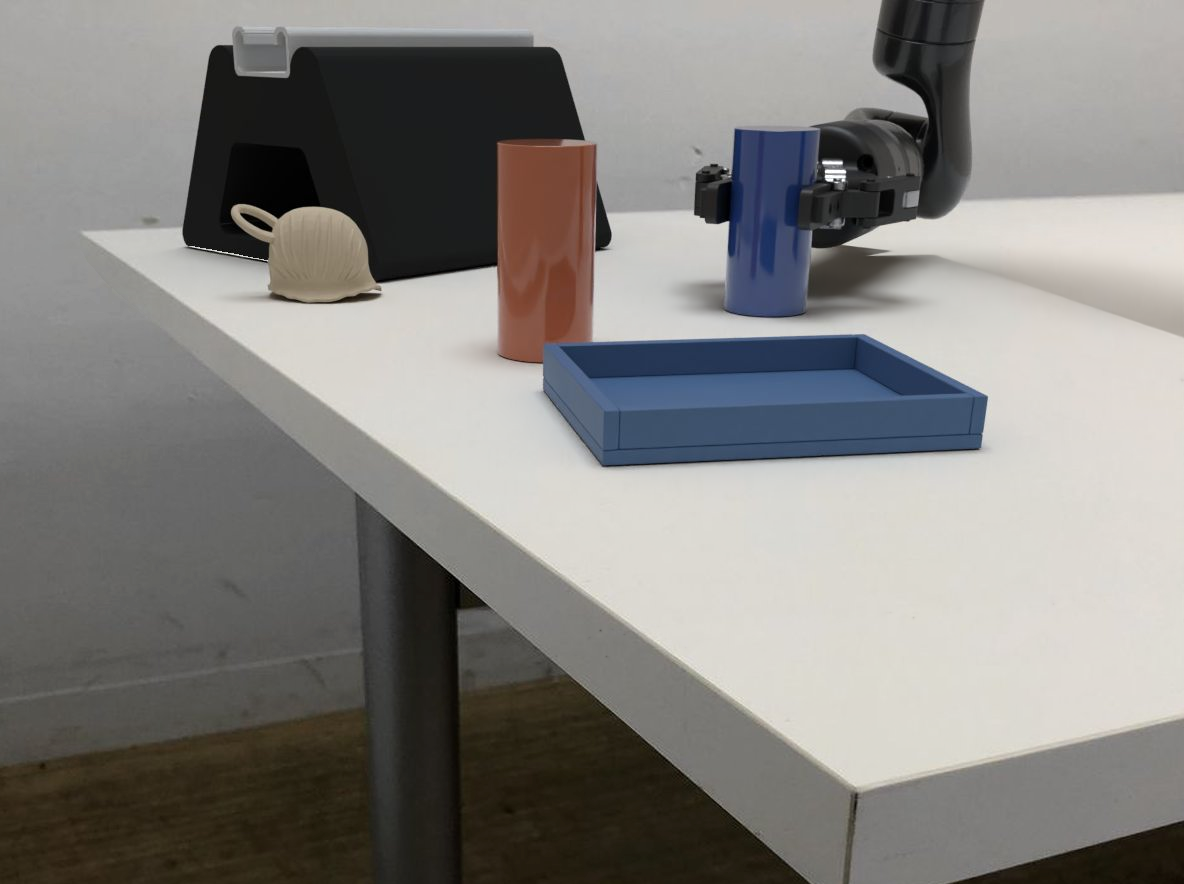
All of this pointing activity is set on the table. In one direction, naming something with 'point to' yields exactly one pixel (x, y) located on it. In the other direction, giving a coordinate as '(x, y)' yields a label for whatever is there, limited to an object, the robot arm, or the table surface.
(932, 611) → the table surface
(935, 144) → the robot arm
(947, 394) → the blue tray
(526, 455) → the table surface
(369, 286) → the decorative ornament
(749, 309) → the blue tall cylinder
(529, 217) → the cylinder
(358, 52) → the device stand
